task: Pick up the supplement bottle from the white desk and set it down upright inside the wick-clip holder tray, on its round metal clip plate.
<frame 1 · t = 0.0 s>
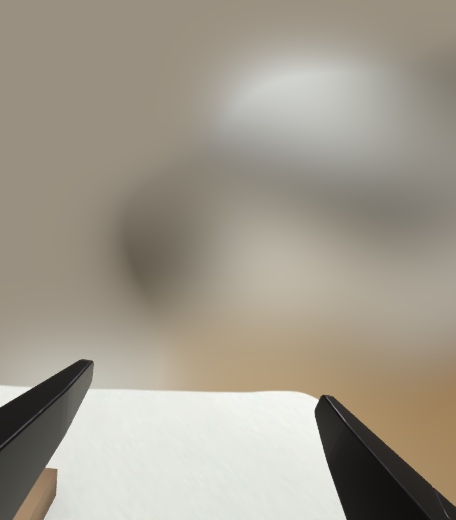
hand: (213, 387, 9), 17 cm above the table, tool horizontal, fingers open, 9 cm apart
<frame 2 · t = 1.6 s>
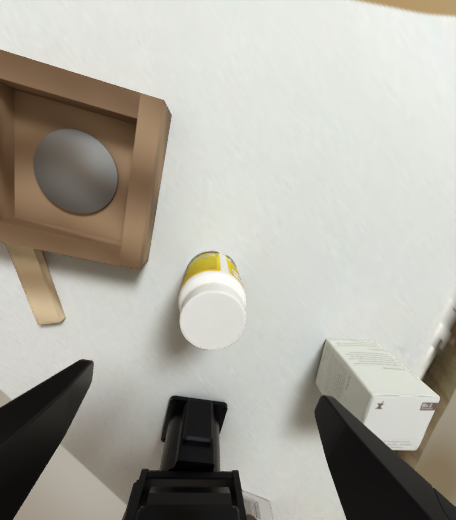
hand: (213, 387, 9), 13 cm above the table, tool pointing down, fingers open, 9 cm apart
skincare box: (343, 360, 25), on the table
supplement bottle: (212, 272, 21), on the table
coffee box: (234, 510, 31), on the table
holder: (83, 174, 18), on the table
wood wick: (40, 280, 20), on the table
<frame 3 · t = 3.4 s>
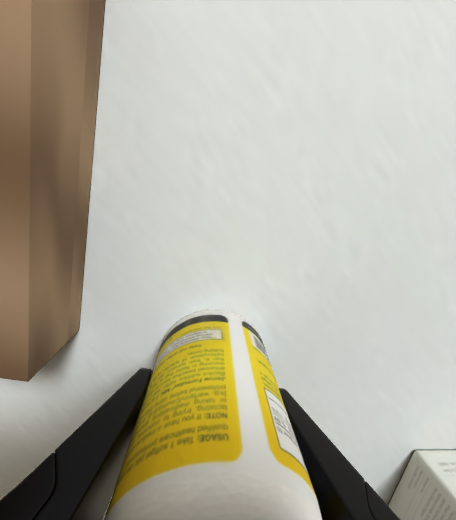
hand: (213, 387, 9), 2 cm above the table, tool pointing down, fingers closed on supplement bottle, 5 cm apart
skincare box: (436, 475, 15), on the table
supplement bottle: (213, 348, 11), on the table, touching gripper
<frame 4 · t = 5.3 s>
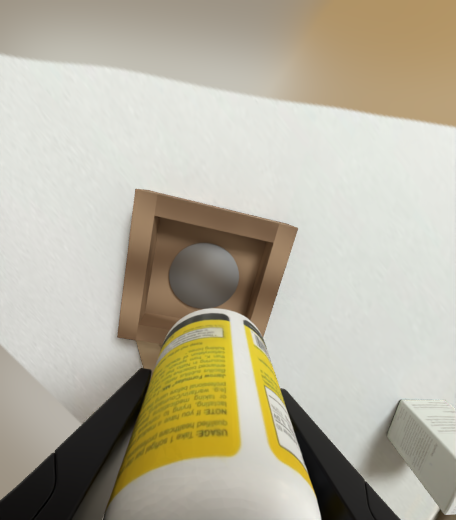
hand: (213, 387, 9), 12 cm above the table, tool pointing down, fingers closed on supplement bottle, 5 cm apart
skincare box: (413, 415, 27), on the table
supplement bottle: (214, 347, 11), point 10 cm above the table, touching gripper
holder: (204, 273, 20), on the table
wood wick: (155, 358, 22), on the table
when the fingers open (3 cm above the table, at t = 7.3 s): supplement bottle stays where it is, resting on holder.
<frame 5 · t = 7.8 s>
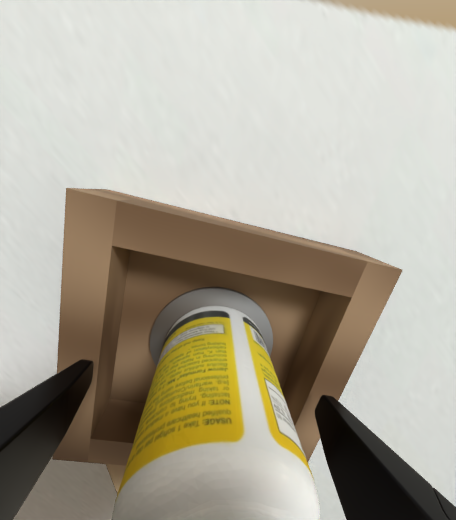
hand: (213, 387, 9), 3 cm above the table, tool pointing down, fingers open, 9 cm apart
supplement bottle: (214, 343, 11), point 1 cm above the table, touching holder
holder: (212, 332, 12), on the table
wood wick: (131, 456, 14), on the table
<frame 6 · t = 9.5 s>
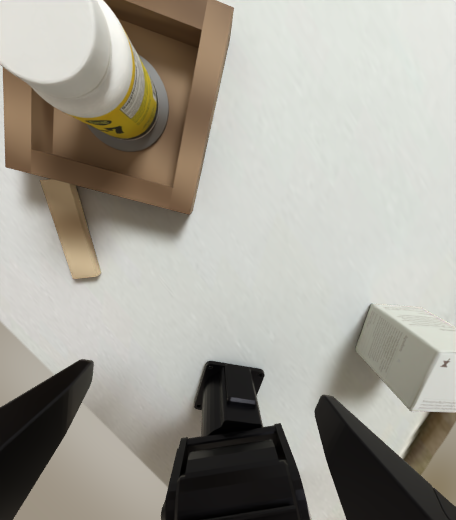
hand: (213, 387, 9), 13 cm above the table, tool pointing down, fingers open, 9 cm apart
skincare box: (385, 327, 24), on the table
supplement bottle: (126, 104, 15), point 1 cm above the table, touching holder
holder: (128, 107, 16), on the table
wood wick: (76, 230, 18), on the table
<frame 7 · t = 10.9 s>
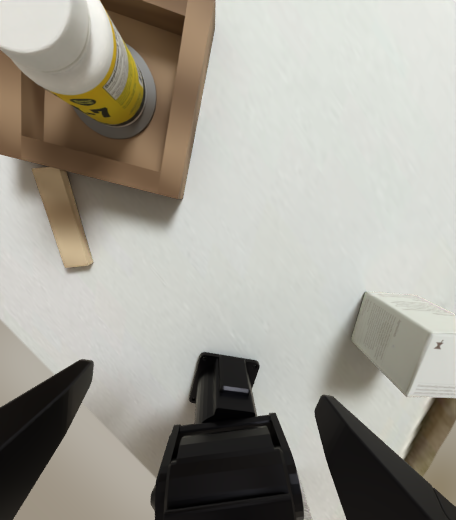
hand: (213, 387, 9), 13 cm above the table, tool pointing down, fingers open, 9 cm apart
skincare box: (381, 316, 24), on the table
supplement bottle: (114, 92, 16), point 1 cm above the table, touching holder
holder: (118, 96, 16), on the table
wood wick: (68, 219, 19), on the table
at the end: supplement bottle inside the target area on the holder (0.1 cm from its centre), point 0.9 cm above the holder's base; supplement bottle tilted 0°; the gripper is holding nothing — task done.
